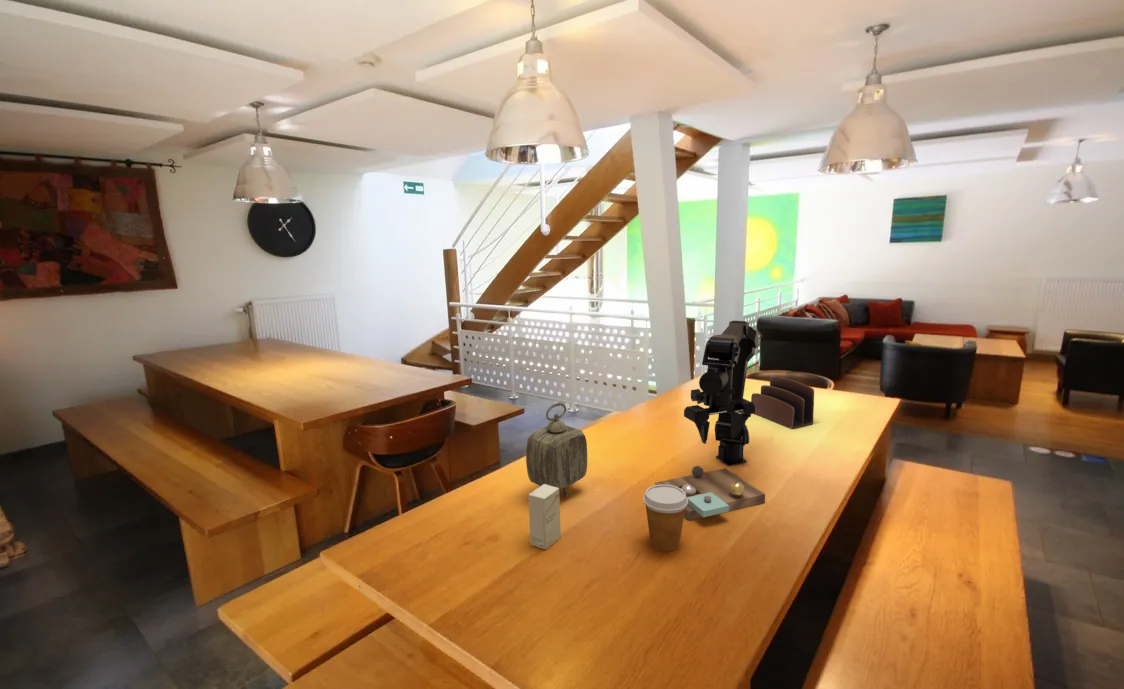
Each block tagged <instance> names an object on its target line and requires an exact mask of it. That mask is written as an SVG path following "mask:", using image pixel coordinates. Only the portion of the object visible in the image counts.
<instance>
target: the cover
mask: <svg viewBox="0 0 1124 689" xmlns="http://www.w3.org/2000/svg"><path fill="white" fill-rule="evenodd" d="M687 498H688V505H689V506H690V507H692V508H693V509H694V510H695V511H696V512H698V513H699V514H700V515H701V516H702V517H703V518H706V517H710V516H715V515H720V514H724V513H727V512H728V513H729V512H730V511H729V505H728V504H726V503H725V502H724V501H722V500H721V499H720V498H718V497H717V496H716V495H714V494H713V493H712V492H710V493H705V494H701V495H696V496H692V497H687Z"/></svg>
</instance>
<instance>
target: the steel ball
mask: <svg viewBox="0 0 1124 689" xmlns="http://www.w3.org/2000/svg"><path fill="white" fill-rule="evenodd" d="M681 489H682V490H683V491H684V492H685V494H686V497H688V496H693V495H696V494H697V491H696V488H695V487H694V486H693V485H691V484H685V485H684V486H682V488H681Z"/></svg>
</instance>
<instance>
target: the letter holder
mask: <svg viewBox="0 0 1124 689" xmlns="http://www.w3.org/2000/svg"><path fill="white" fill-rule="evenodd" d="M750 397H751V399H750V402H753V403H754V405H755V414H754V415H756V416H758V417H761V418H763V419H766V420H768V421H771V422H774V423H776V424H778V425H780V426H783V427H785V428H788V429H790V430H795V429H801V428H805V427H810V426H812V425H813V424H814V412H815V411H814V409H815V390H814V388H813V387H811V386H809V385H807V384H805V383H803V382H800V381H796V380H795V379H790V378H786V377H783V376H776V375H771V376H770V378H769V385H767V384H763V385H761V387H760V393H758V392H757V393H756V392H753V393H752V394H751V396H750Z"/></svg>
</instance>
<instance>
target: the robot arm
mask: <svg viewBox="0 0 1124 689" xmlns="http://www.w3.org/2000/svg"><path fill="white" fill-rule="evenodd" d="M759 342H760V341H759V335H758V331H757V330H756V329H755V328H753V327H752V326H750V323H749V322H747V321H746V320H731V321H729V323H728V326H727V327H726V328H725V329H724V330H723V331H722V333H721V334H715V335H712V336H710V337H709V339H708V340H707V341H706V343H705V346H704V347H705V348H704V352H703V356H702V357H703V358H702V362H701V365H702V366H707V370H706V371H705V372H704V373H703V374H702V375H701V376H700V377H699V381H698V386H699V388H696V389H691V390H690V399H691V401H692V402H696V404H695V405H694V404H693V405H689V406H686V407H685V408H684V410H683V417H684V418H686V419H687V420H690V421H691V422H693V423H694V424H695V427H696V428H697V432H698V434H699V437H700V439H701V442H702V444H704V445H706V444H707V441H708V437H709V436H708V435H709V431H710V423H711V422H709V421H708V420H709V419H710V416H713V415H718V417H717V420H716V421H715V424H714V438H715V441H716V442H719V445H718V449H717V450H718V452H717V455H716V456H715V458H716V459H717V460H719V461H720V462H722V463H724V465H727V466H734V465H739V464H740V465H741V464H744V463H747V461H748V460H746V459H745V458H744V446H746V445H749V443H750V434H749V429H748V426H747V425H746V423H747V420H748V419H749V418H751V417H752V415H755V405H754V403H753V402H751V400H748V399H746V398H744V393H745V386H746V385H745V384H746V379H747V378H746V377H747V372H748V364H749V362H750V361H751V360H752V358H753V357H754V356H755V354H756V349H758V346H759ZM699 404H703V405H704V406H706V408H704V407H702V406H700V405H699Z"/></svg>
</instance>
